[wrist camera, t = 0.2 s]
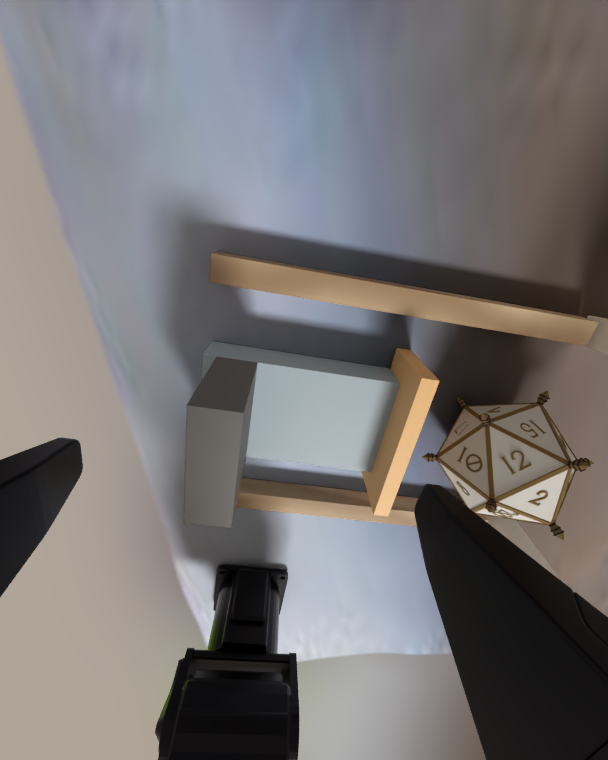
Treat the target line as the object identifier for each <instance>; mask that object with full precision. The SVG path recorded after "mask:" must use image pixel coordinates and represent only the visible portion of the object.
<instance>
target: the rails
mask: <svg viewBox="0 0 608 760" xmlns="http://www.w3.org/2000/svg"><path fill="white" fill-rule="evenodd" d="M209 282H212V283H218V284H224V285H230V286H236V287H241V288H247V289H253V290H259V291H265V292H271V293H277V294H283V295H289V296H295V297H300V298H306V299H312V300H318V301H324V302H330V303H336V304H342V305H348V306H353V307H359V308H365V309H371V310H377V311H383V312H389V313H395V314H401V315H407V316H412V317H418V318H424V319H430V320H436V321H442V322H448V323H454V324H460V325H466V326H471V327H477V328H483V329H489V330H495V331H501V332H507V333H513V334H519V335H525V336H530V337H536V338H542V339H548V340H554V341H560V342H566V343H572V344H578V345H584V346H586V345H587V344H588V342H589V340H590V338H591V336H592V335H593V333H594V331H595V329H596V327H597V326H598V324H599V322H596V321H593V320H590V319H587V318H584V317H580V316H576V315H571V314H565V313H560V312H554V311H548V310H543V309H537V308H532V307H526V306H520V305H515V304H509V303H504V302H498V301H492V300H487V299H481V298H476V297H470V296H464V295H459V294H453V293H448V292H442V291H436V290H431V289H425V288H420V287H414V286H408V285H403V284H397V283H392V282H386V281H380V280H375V279H369V278H364V277H358V276H352V275H347V274H341V273H336V272H330V271H324V270H319V269H313V268H308V267H302V266H296V265H291V264H285V263H280V262H274V261H268V260H263V259H257V258H252V257H246V256H240V255H235V254H229V253H223V252H218V251H217V252H214V253H211V260H210V280H209ZM417 500H418V498H413V497H404V496H396V497H395V500H394V502H393V505H392V508H391V510H390V513H389V515H388V517H387V516H378V515H373V512H372V508H371V504H370V501H369V497H368V493H367V492H361V491H352V490H344V489H335V488H326V487H318V486H309V485H300V484H292V483H283V482H275V481H266V480H257V479H249V478H242V479H241V484H240V488H239V493H238V498H237V502H236V507H240V508H249V509H258V510H268V511H277V512H286V513H296V514H305V515H314V516H324V517H333V518H342V519H352V520H361V521H370V522H380V523H389V524H398V525H408V526H417V524H416V520H415V514H414V509H415V505H416V502H417ZM463 504H464V505H465V503H463ZM477 515H478V516H480V517H481V518H482V519H483V520H485V521H486V522H488V521H489V520H488V519H487V517H486V516H485V515H480V514H477Z"/></svg>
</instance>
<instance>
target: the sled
mask: <svg viewBox="0 0 608 760" xmlns="http://www.w3.org/2000/svg"><path fill="white" fill-rule="evenodd" d="M439 382H440V381H439V380H438V379H437V377H436V376H435V375H434V374H433V373H432V372H431V371H430V370H429V369H428V368H427V367H426V366H425V365H424V364H423V362H422V361H421V360H420V359H419V358H418V357H417V356H416V355H415V354H414V353H413V352H412V351H411V350H407V349H401V348H396V352H395V355H394V358H393V361H392V365H391V368H384V367H377V366H371V365H364V364H358V363H351V362H345V361H338V360H332V359H325V358H319V357H312V356H306V355H299V354H293V353H286V352H279V351H273V350H266V349H260V348H253V347H247V346H240V345H234V344H227V343H221V342H214V341H212V342H211V343H210V345H209V346H208V348H207V349H206V350H205V352H204V353H203V357H202V379H201V383H200V385H199V386H198V388H197V390H196V391H195V393H194V394H193V396H192V398H191V399H190V401H189V403H188V404H187V421H186V459H185V497H184V524H194V525H204V526H214V527H224V528H231V526H232V521H233V516H234V512H235V507H236V502H237V498H238V493H239V488H240V484H241V479H242V474H243V469H244V465H245V460H246V457H249V458H257V459H266V460H274V461H282V462H290V463H298V464H307V465H315V466H323V467H331V468H340V469H348V470H356V471H362V475H363V478H364V482H365V486H366V490H367V493H368V497H369V501H370V504H371V508H372V512H373V515H378V516H387V517H388V515H389V513H390V510H391V508H392V505H393V502H394V500H395V497H396V494H397V492H398V489H399V487H400V484H401V481H402V479H403V476H404V473H405V471H406V468H407V466H408V463H409V460H410V458H411V455H412V452H413V450H414V447H415V445H416V442H417V439H418V437H419V434H420V431H421V429H422V426H423V424H424V421H425V418H426V416H427V413H428V410H429V408H430V405H431V403H432V400H433V397H434V395H435V392H436V389H437V387H438V384H439Z"/></svg>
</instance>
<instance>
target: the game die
mask: <svg viewBox="0 0 608 760" xmlns="http://www.w3.org/2000/svg"><path fill="white" fill-rule="evenodd" d="M539 395H540V396H539V398H538V401H537V402H536V403H517V404H494V405H472V406H467V405H466V402H465V401H464V399H463V398H459V397H457V404H459V406H461V407H462V411H461V412H460V414H459V416H458V418H457V420H456V421H455V423H454V425H453V427H452V428H451V430H450V432H449V434H448V435H447V437H446V439H445V441H444V442H443V444H442V446H441V448H440V450H439V451H438V453H437V455H434V454H432V453H431V454H429V453H427V454H426V455H424V456H423V458H424V459H426V460H427V461H428V462H429V461H432V462H433V461H434V460H437V461H438V463H439V464H440V466H441V467H442V469H443V471H444V472H445V474H446V475H447V477H448V478H449V480H450V482H451V483H452V485H453V486H454V488H455V489H456V491H457V492H458V494H459V496H460V497H461V499H462V500H463V502H464V503H465V505H466V506H467V507H468V508H470V509H471V510H472V511H473V512H475V513H476V514H480V515H486V516H493V517H499V518H505V519H512V520H518V521H524V522H531V523H537V524H544V525H549V526H550V528H551V532H553V533H554V536H557V537H559V538H560V539H562V540H564V534H563V532H564V531H562V530H561V529H560V528H561V527H559V526H557V525H556V524H555V521H556V519H557V516H558V514H559V511H560V509H561V506H562V504H563V501H564V499H565V496H566V494H567V491H568V489H569V487H570V484H571V482H572V479H573V477H574V474H575V472H576V471H577V470H580V471H581V472H582V471H584V470H586V468H588V467H590V465H591V464H593V462H591V461H589V460H588V459H587V458H584V459H582V458H580V459H578V460H577V458H576V457H575V455H574V454H573V452H572V450H571V449H570V447H569V446H568V444H567V443H566V441H565V439H564V438H563V436H562V435H561V433H560V432H559V430H558V428H557V427H556V425H555V424H554V422H553V421H552V419H551V418H550V416H549V414H548V413H547V411H546V410H545V408H544V407H543V404H544V403H545V402H547V400H548V399H550V398H549V395H548V391H546V392H544V393H542V394H539Z"/></svg>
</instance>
